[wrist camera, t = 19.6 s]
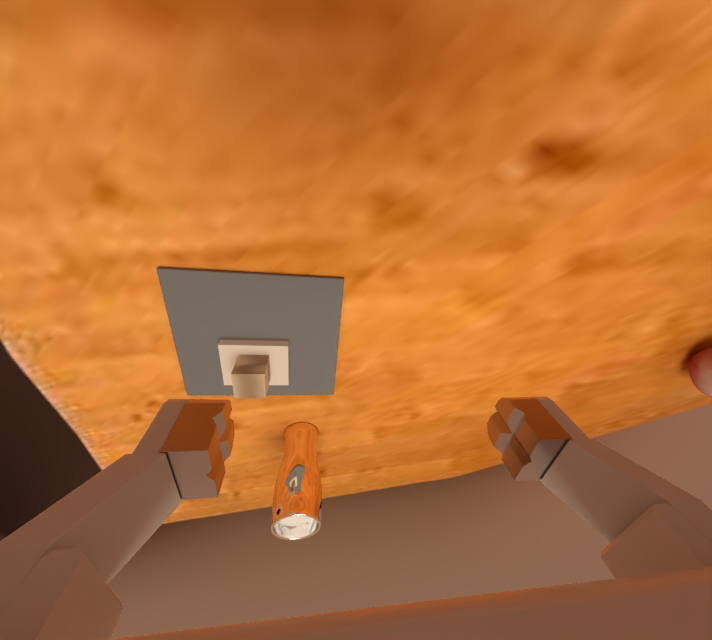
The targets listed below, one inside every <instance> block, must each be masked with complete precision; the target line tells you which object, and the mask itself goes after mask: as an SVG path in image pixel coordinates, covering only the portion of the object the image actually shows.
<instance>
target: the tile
mask: <svg viewBox="0 0 712 640" xmlns="http://www.w3.org/2000/svg"><path fill="white" fill-rule="evenodd" d="M218 349H219V356H220V362H221V369H222V375H223V382H224V385H232V377H231V373H232V370H233V368H234V365H235V363H236V360H237V357H238V355H269V359H270V382H269V385H289V340H280V339H237V338H221V340H220V342H219V343H218Z"/></svg>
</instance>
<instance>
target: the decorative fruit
mask: <svg viewBox="0 0 712 640" xmlns="http://www.w3.org/2000/svg"><path fill="white" fill-rule="evenodd" d="M689 373H690V377H691V379H692V381H693V383H694V385H695V386H696V387H697V389H699V390H700V391H701V392H702V393H704V394H706V395H709V396H711V397H712V347H711V348H708V349H705V350H702V351H700V352H698V353H695V354H694V355H693V356H692V358H691V360H690V364H689Z"/></svg>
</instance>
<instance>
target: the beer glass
mask: <svg viewBox="0 0 712 640" xmlns="http://www.w3.org/2000/svg"><path fill="white" fill-rule="evenodd" d="M318 436H319V432H318V430H317V428H316V427H315V426H313V425H312V424H309V423H295V424H292V425H290V426H289V427H288V428H287V429H286V430H285V432H284V444H285V450H284V456H283V460H282V463H281V467H280V470H279V473H278V476H277V480H276V484H275V489H274V496H273V505H272V525H271V531H272V533H273V534H274V535H275V536H276V537H279V538H281V539H286V540H299V539H304V538H307V537H310V536H312V535H314V534H315V533H316V532H318V531H319V529H320V527H321V510H322V484H321V477H320V471H319V466H318V461H317V454H316V447H317V442H318Z"/></svg>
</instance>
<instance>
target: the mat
mask: <svg viewBox="0 0 712 640" xmlns="http://www.w3.org/2000/svg"><path fill="white" fill-rule="evenodd" d="M157 273H158V277H159V281H160V285H161V289H162V293H163V297H164V302H165V306H166V310H167V314H168V318H169V322H170V326H171V330H172V334H173V339H174V343H175V347H176V351H177V355H178V359H179V363H180V367H181V371H182V376H183V380H184V384H185V388H186V392H187V395H234V392H233V385H224V382H223V375H222V369H221V362H220V356H219V349H218V343H219V342H220V340H221V338H237V339H280V340H289V385H269V387H268V392H267V395H334V384H335V373H336V362H337V351H338V340H339V329H340V318H341V307H342V296H343V285H344V278H342V277H325V276H307V275H290V274H273V273H255V272H238V271H220V270H203V269H186V268H168V267H158V268H157Z"/></svg>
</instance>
